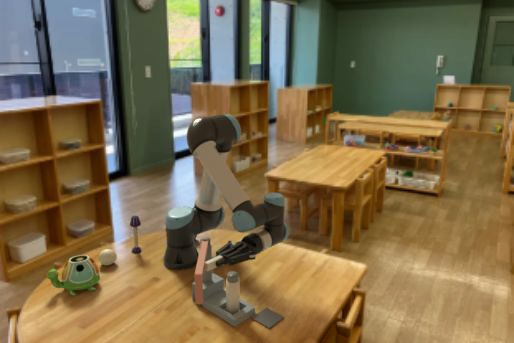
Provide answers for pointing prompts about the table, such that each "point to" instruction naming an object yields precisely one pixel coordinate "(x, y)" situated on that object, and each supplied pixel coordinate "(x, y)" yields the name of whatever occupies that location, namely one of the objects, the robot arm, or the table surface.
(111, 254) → the cream oval egg shape
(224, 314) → the dock
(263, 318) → the mat
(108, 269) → the table surface
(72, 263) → the turtle holder
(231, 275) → the bottle
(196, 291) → the pink bent bar
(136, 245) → the toy lamp
